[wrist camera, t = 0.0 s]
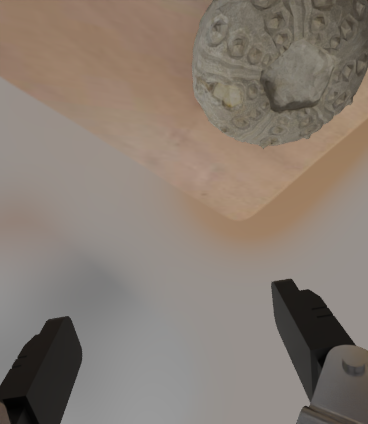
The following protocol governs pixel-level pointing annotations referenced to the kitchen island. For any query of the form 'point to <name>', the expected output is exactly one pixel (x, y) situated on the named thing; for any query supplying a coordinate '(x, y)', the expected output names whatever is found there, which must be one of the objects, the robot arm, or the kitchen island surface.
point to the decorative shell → (278, 65)
